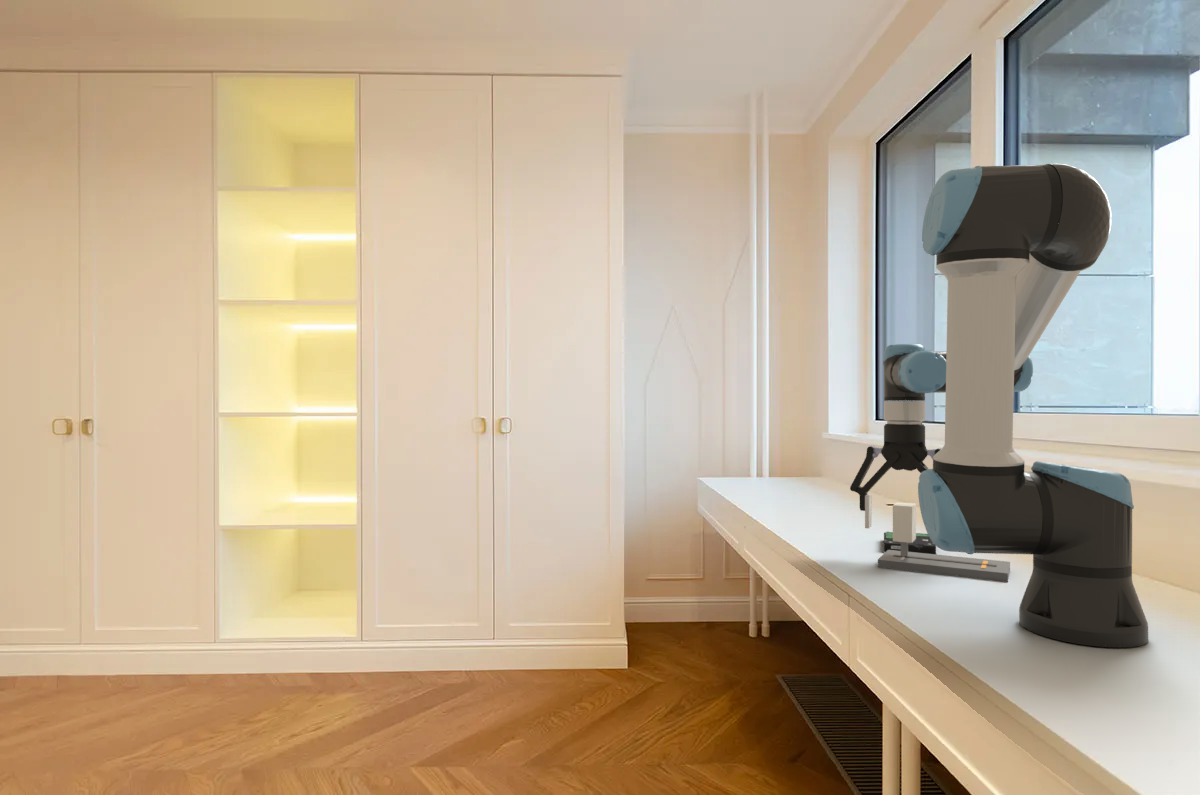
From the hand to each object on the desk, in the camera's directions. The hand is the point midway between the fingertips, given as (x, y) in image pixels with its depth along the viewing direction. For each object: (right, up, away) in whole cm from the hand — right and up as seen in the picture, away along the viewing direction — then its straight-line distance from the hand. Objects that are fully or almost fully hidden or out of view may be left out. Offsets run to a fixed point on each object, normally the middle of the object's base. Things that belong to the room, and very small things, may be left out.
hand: (904, 530), depth 145 cm
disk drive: (+8, -7, +16) cm, 19 cm away
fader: (0, -5, 0) cm, 5 cm away
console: (+6, -7, -4) cm, 10 cm away
